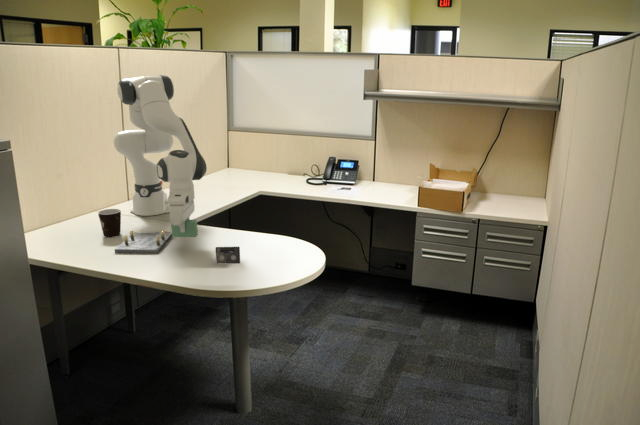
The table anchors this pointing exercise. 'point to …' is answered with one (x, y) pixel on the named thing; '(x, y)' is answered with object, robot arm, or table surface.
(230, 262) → the mini dv tape
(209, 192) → the table surface
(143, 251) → the chassis plate
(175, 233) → the green block
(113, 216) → the coffee mug
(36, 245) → the table surface
